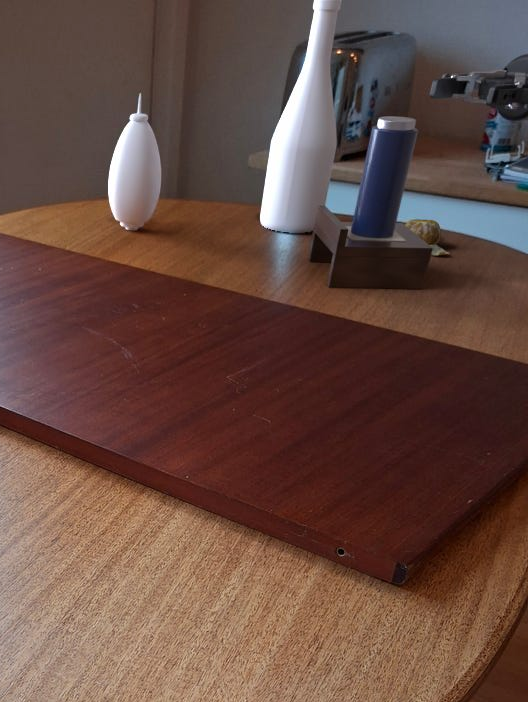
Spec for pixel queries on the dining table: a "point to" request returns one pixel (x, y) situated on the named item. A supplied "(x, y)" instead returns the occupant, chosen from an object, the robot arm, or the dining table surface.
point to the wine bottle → (304, 136)
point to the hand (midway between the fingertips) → (461, 92)
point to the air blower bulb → (135, 173)
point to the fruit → (428, 233)
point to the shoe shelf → (368, 255)
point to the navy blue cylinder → (384, 177)
